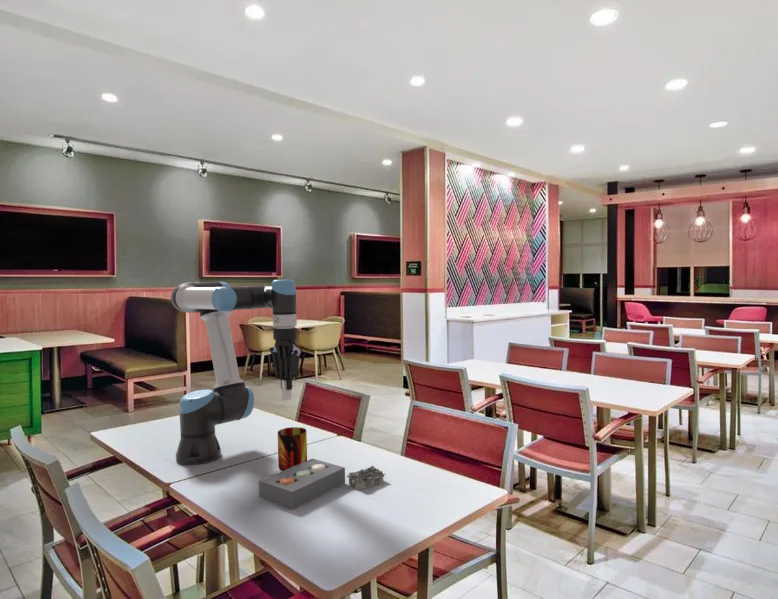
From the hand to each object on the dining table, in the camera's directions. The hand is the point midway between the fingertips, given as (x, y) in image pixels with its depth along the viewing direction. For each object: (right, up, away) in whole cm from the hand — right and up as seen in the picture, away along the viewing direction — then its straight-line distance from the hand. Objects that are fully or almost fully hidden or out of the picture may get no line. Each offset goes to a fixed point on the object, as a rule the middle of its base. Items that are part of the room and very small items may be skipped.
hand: (286, 399), depth 171 cm
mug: (+2, -24, +6) cm, 25 cm away
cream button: (+11, -23, -8) cm, 26 cm away
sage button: (+7, -23, -13) cm, 27 cm away
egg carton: (+26, -25, -8) cm, 37 cm away
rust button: (+4, -23, -18) cm, 30 cm away
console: (+8, -25, -13) cm, 29 cm away
